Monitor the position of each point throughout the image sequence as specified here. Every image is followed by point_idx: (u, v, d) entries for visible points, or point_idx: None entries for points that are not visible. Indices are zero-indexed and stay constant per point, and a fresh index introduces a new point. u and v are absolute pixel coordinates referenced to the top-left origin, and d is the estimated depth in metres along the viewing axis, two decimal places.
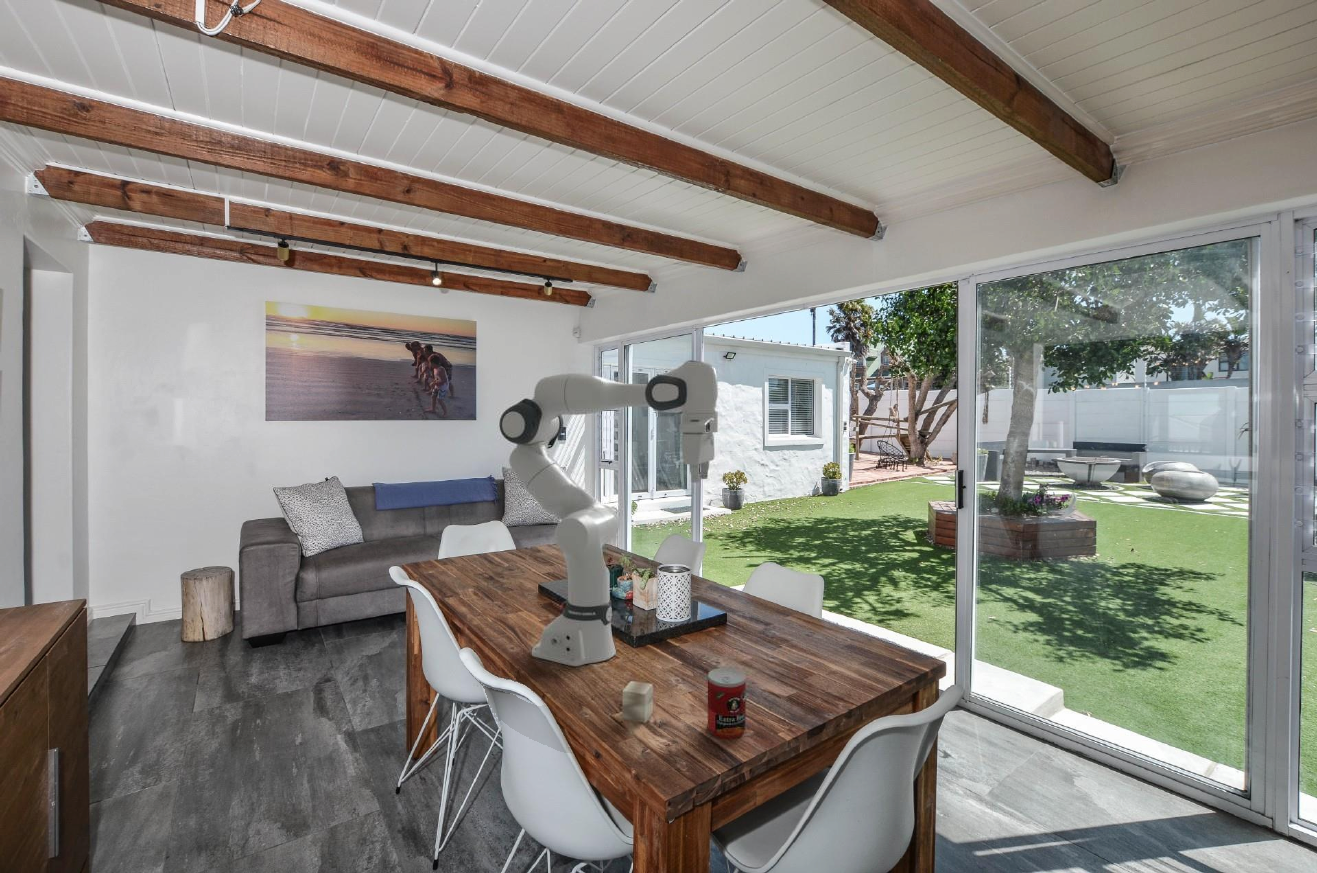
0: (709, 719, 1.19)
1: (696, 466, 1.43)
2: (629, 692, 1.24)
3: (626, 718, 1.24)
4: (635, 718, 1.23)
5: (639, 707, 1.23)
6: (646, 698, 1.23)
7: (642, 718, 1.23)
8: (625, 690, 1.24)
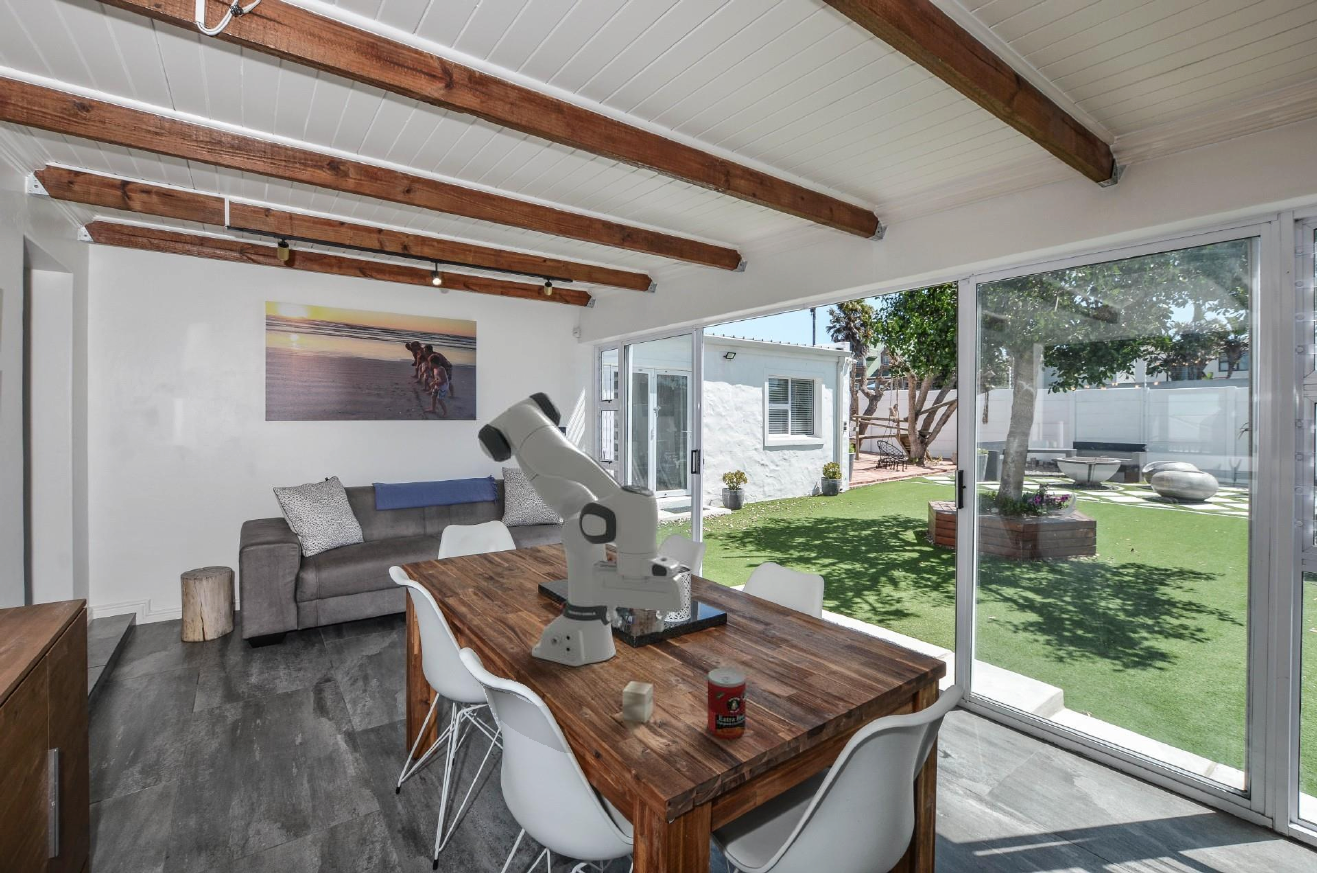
0: (709, 719, 1.19)
1: None
2: (629, 692, 1.24)
3: (626, 718, 1.24)
4: (635, 718, 1.23)
5: (639, 707, 1.23)
6: (646, 698, 1.23)
7: (642, 718, 1.23)
8: (625, 690, 1.24)
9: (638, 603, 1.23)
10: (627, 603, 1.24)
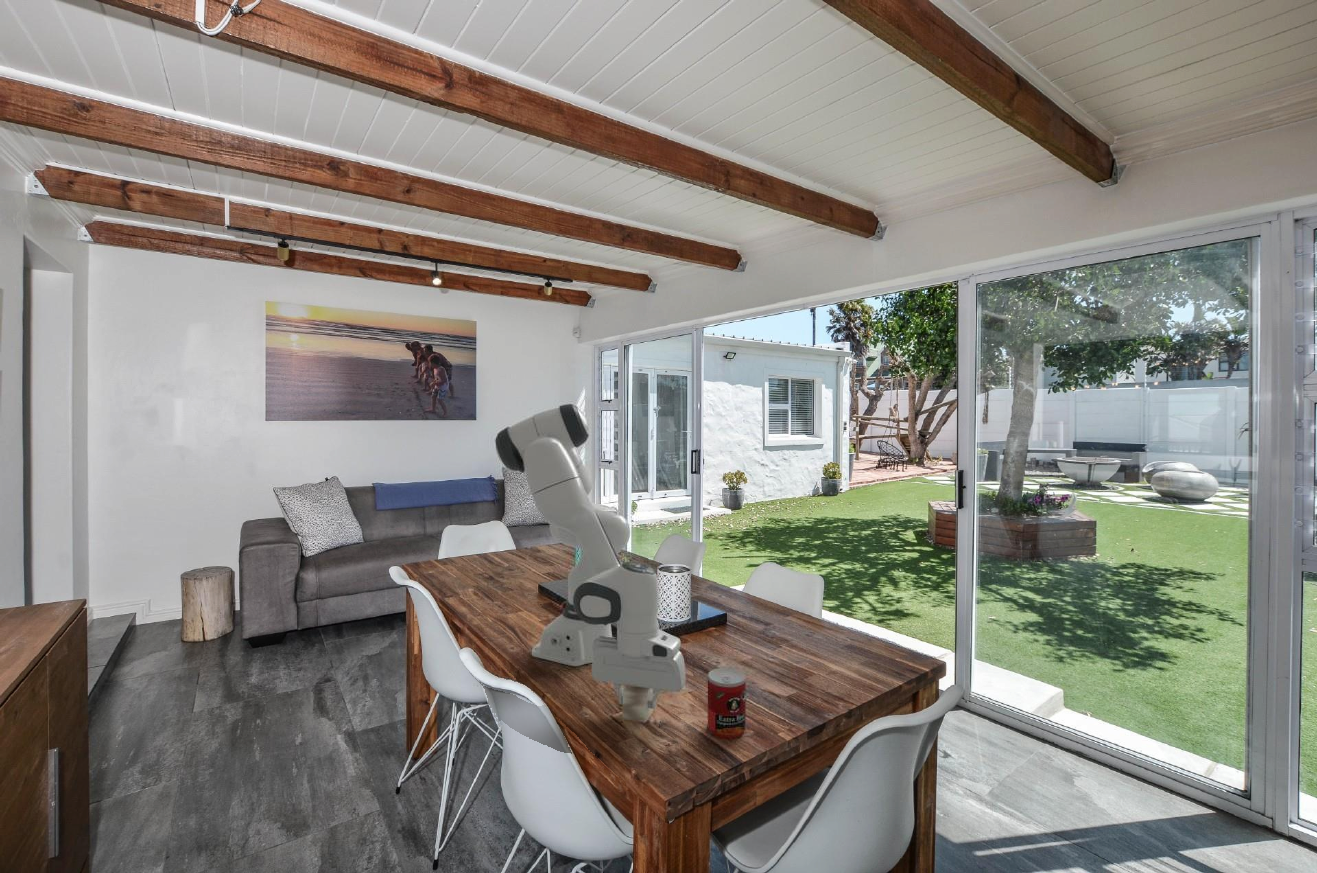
0: (709, 719, 1.19)
1: None
2: (629, 692, 1.24)
3: (626, 718, 1.24)
4: (635, 718, 1.23)
5: (639, 707, 1.23)
6: (646, 697, 1.23)
7: (642, 718, 1.23)
8: (625, 690, 1.24)
9: (638, 681, 1.24)
10: (627, 680, 1.24)
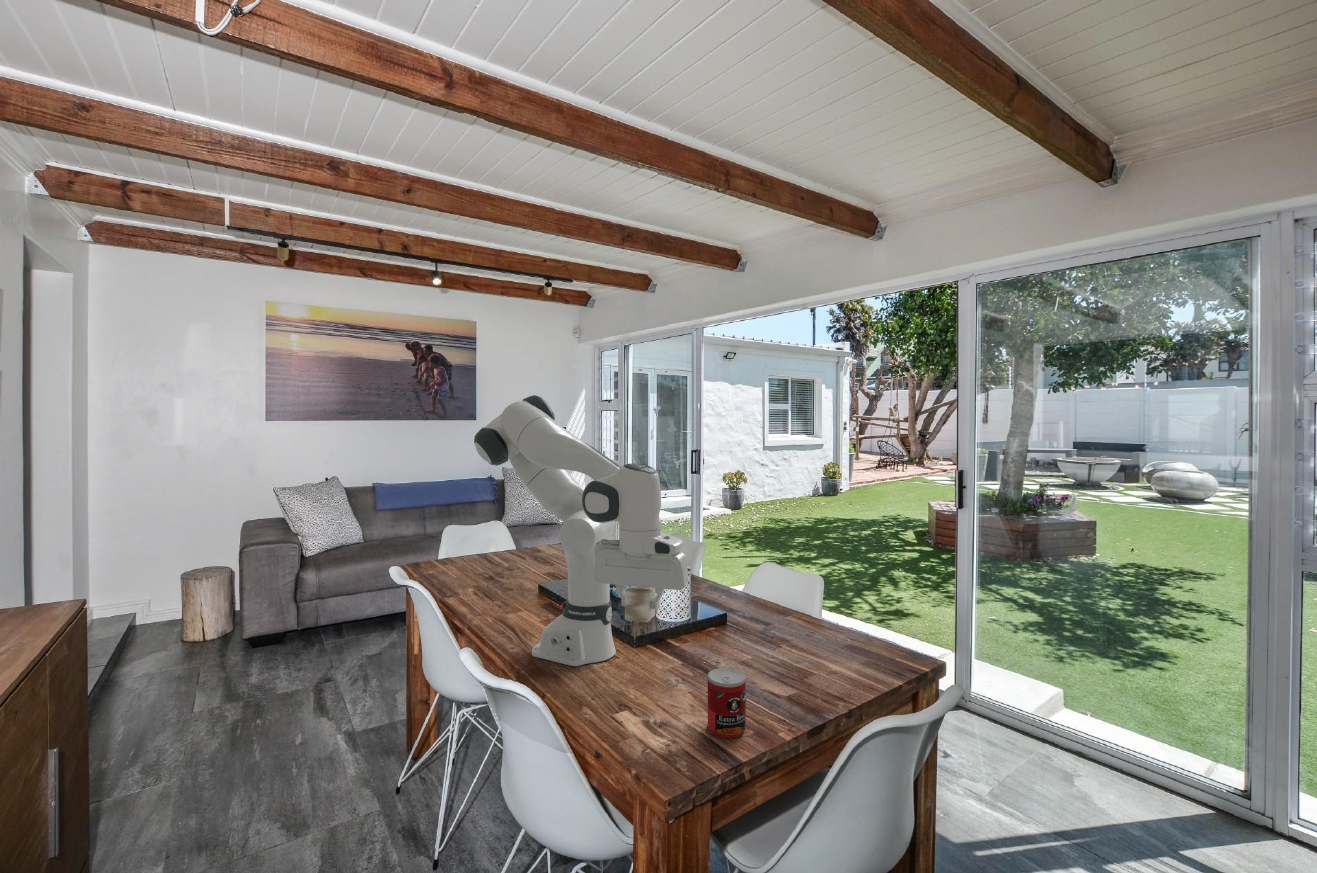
0: (709, 719, 1.19)
1: (663, 589, 1.24)
2: (631, 592, 1.23)
3: (628, 618, 1.23)
4: (637, 618, 1.23)
5: (642, 607, 1.22)
6: (648, 597, 1.23)
7: (644, 617, 1.22)
8: (627, 590, 1.24)
9: (641, 581, 1.23)
10: (629, 581, 1.24)
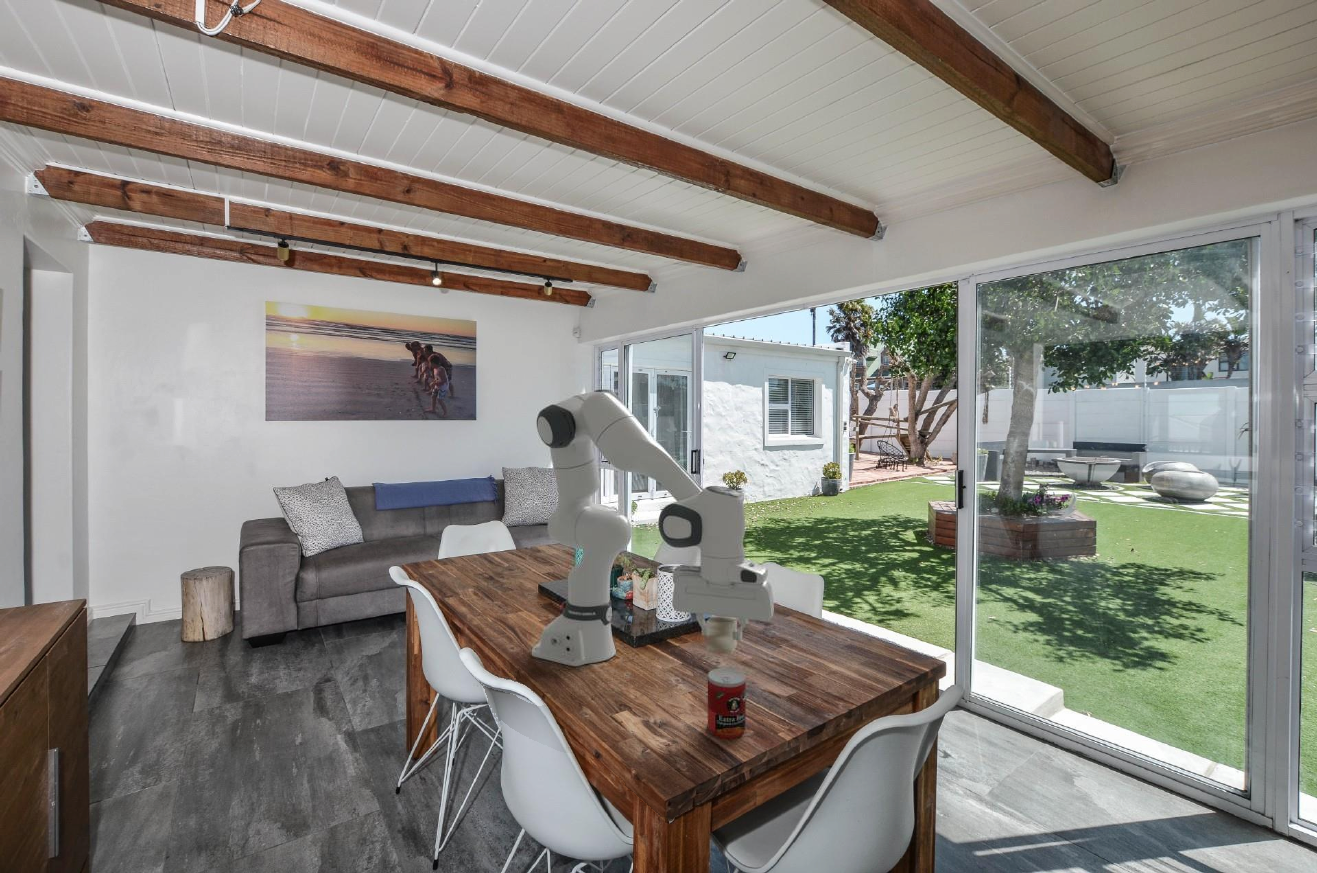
0: (709, 719, 1.19)
1: (747, 619, 1.18)
2: (714, 622, 1.17)
3: (710, 650, 1.17)
4: (720, 650, 1.16)
5: (725, 638, 1.16)
6: (732, 628, 1.16)
7: (728, 649, 1.16)
8: (709, 620, 1.17)
9: (724, 610, 1.17)
10: (711, 610, 1.18)
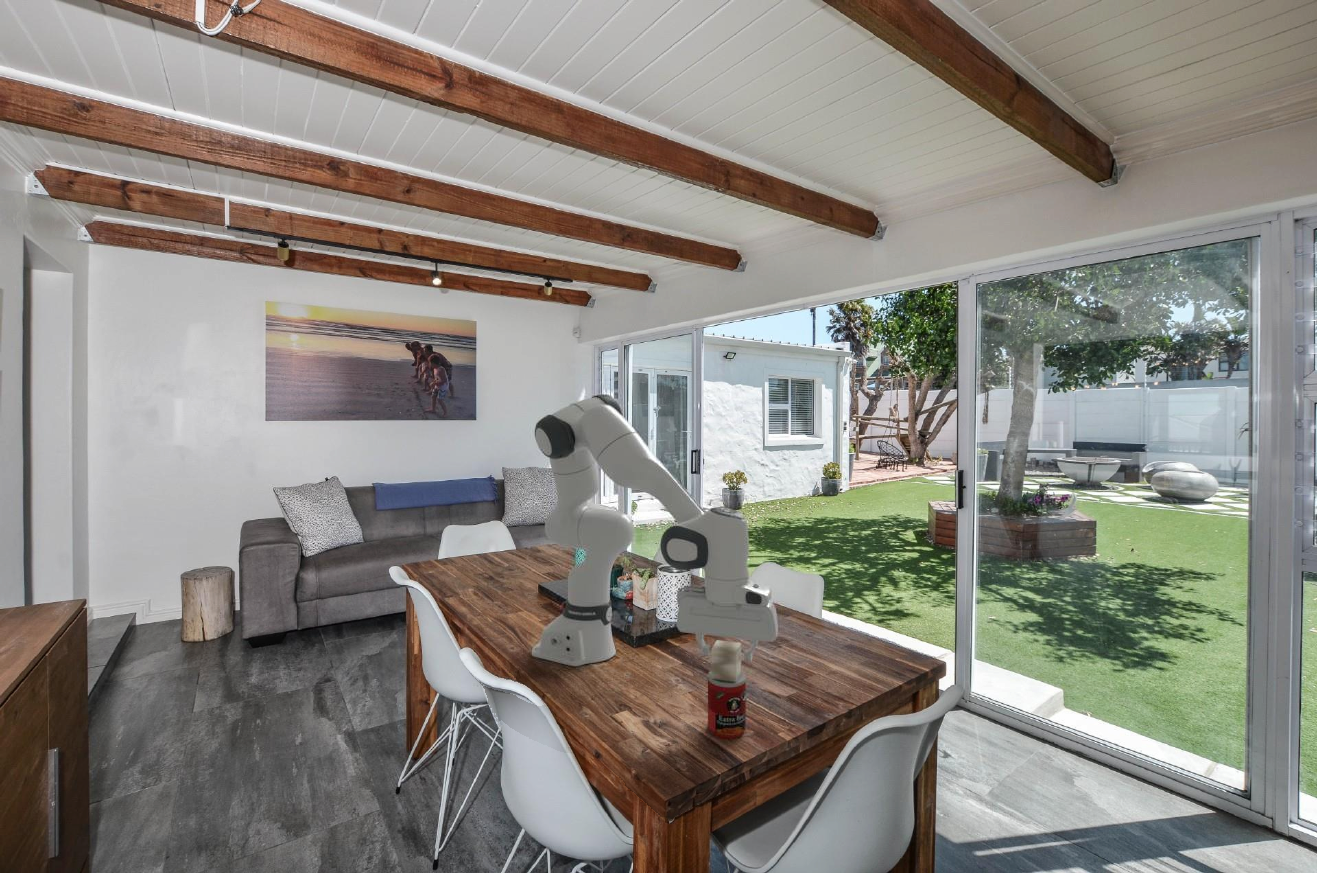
0: (709, 719, 1.19)
1: None
2: (719, 650, 1.18)
3: (715, 677, 1.18)
4: (725, 677, 1.17)
5: (730, 666, 1.17)
6: (737, 656, 1.17)
7: (733, 677, 1.17)
8: (714, 648, 1.18)
9: (729, 631, 1.18)
10: (716, 631, 1.18)
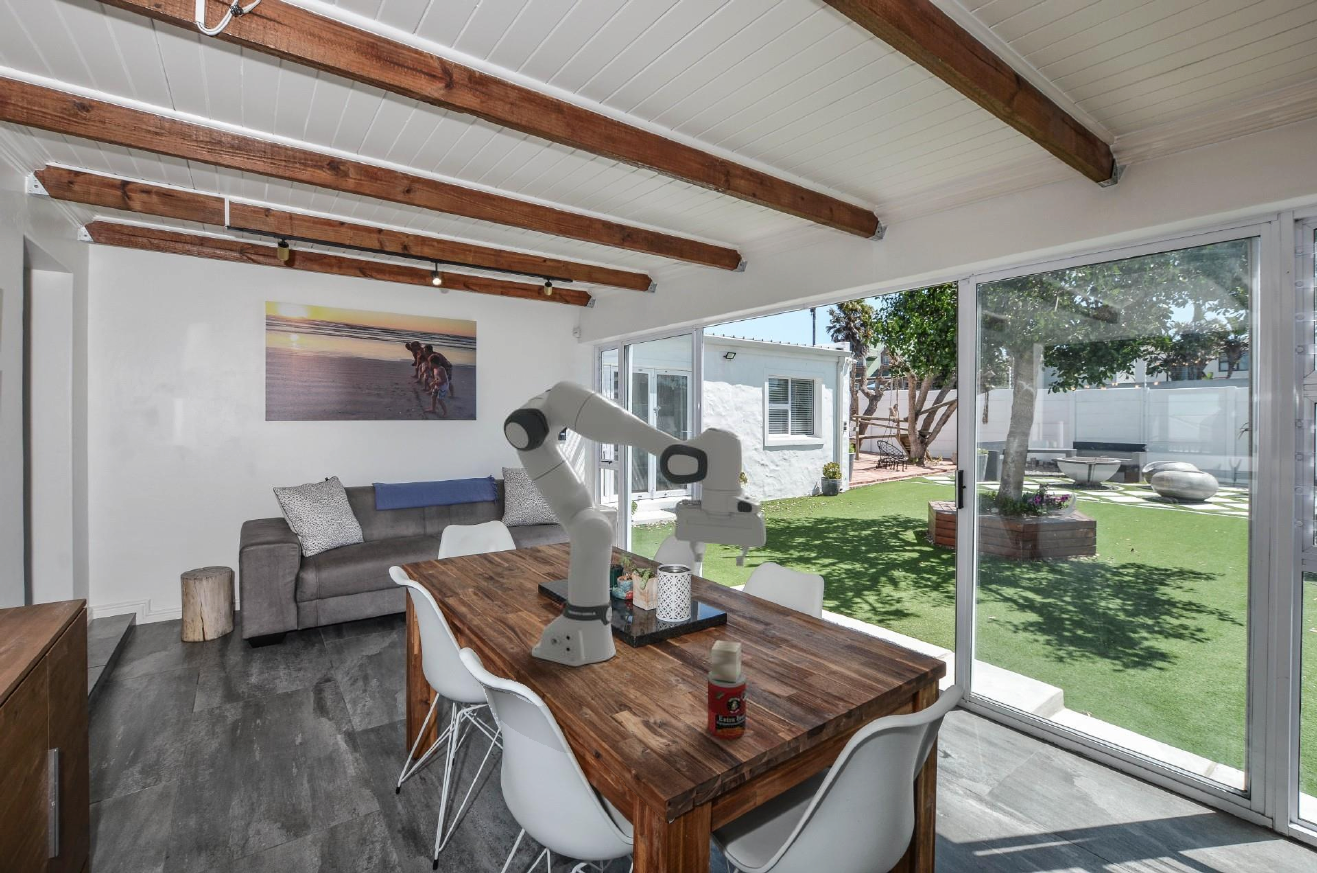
0: (709, 719, 1.19)
1: (749, 547, 1.31)
2: (719, 650, 1.18)
3: (715, 677, 1.18)
4: (725, 677, 1.17)
5: (730, 666, 1.17)
6: (737, 656, 1.17)
7: (733, 677, 1.17)
8: (714, 648, 1.18)
9: (721, 539, 1.30)
10: (710, 538, 1.31)
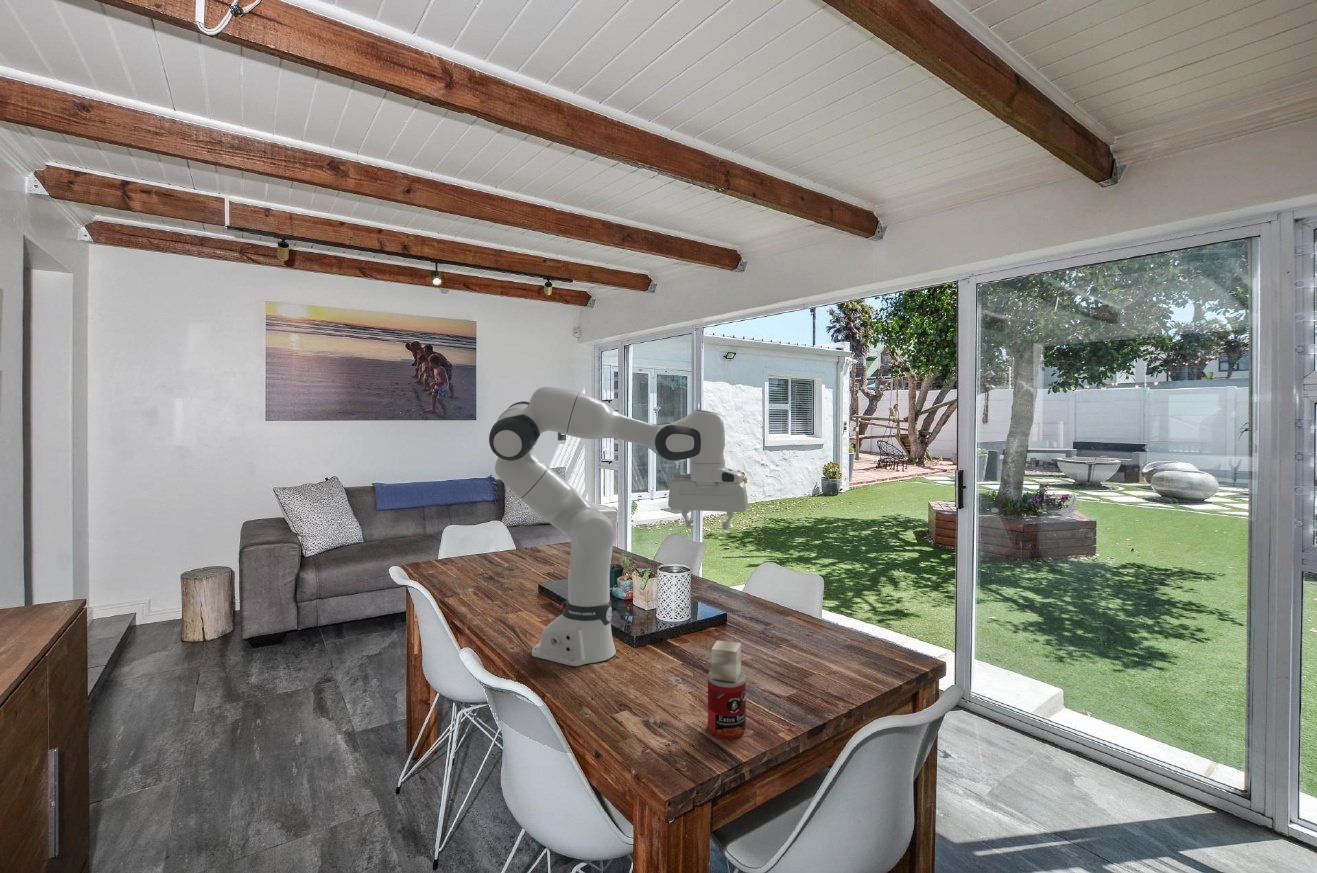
0: (709, 719, 1.19)
1: (733, 513, 1.50)
2: (719, 650, 1.18)
3: (715, 677, 1.18)
4: (725, 677, 1.17)
5: (730, 666, 1.17)
6: (737, 656, 1.17)
7: (733, 677, 1.17)
8: (714, 648, 1.18)
9: (709, 506, 1.49)
10: (699, 506, 1.50)
